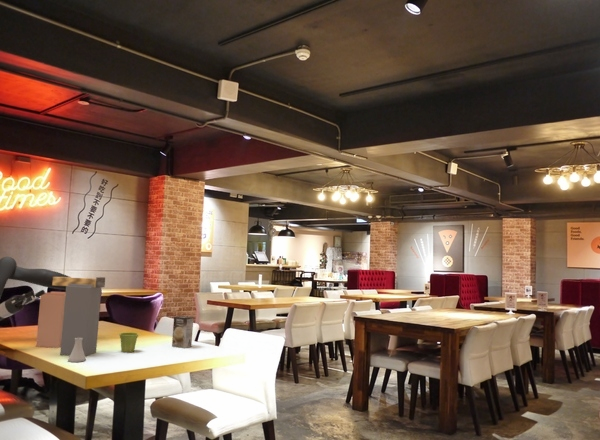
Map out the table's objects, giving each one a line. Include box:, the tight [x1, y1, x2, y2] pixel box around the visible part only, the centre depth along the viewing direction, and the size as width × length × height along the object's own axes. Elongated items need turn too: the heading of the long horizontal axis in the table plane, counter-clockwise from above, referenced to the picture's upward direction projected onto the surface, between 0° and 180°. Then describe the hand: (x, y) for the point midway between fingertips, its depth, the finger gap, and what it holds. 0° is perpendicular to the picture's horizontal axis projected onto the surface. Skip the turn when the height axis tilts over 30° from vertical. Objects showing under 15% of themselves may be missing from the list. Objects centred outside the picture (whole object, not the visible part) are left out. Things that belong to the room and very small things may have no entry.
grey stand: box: [59, 284, 102, 357], centre depth 235 cm, size 12×11×33 cm
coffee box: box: [171, 315, 194, 349], centre depth 266 cm, size 9×6×16 cm
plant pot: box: [119, 332, 140, 353], centre depth 245 cm, size 9×9×9 cm
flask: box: [67, 338, 87, 363], centre depth 218 cm, size 7×7×10 cm
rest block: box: [35, 291, 66, 349], centre depth 253 cm, size 12×10×27 cm
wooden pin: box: [52, 276, 106, 289], centre depth 237 cm, size 24×5×5 cm, turn 86°
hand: (38, 292), depth 238 cm, fingers open, 8 cm apart
